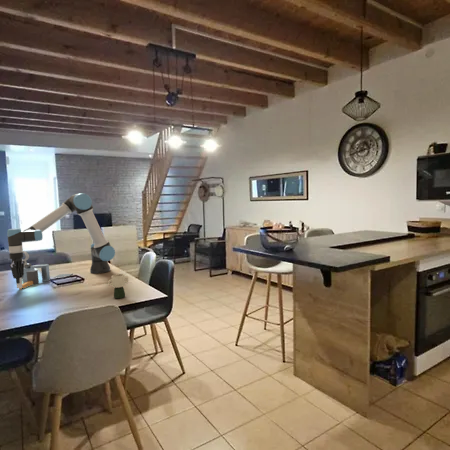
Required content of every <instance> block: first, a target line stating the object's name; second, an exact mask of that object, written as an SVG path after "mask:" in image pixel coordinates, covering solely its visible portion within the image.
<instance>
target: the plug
mask: <svg viewBox="0 0 450 450" xmlns="http://www.w3.org/2000/svg"><path fill="white" fill-rule="evenodd" d="M39 280H40V279H39V270H38V269H36V270H31V271H28V272H27V282H22V288H25V287H27V286H29V287H31V286H32V284H33V285H37V284H39V283H38V282H39ZM36 283H37V284H36ZM30 285H31V286H30ZM22 288H18V289H19V290H23V289H22ZM27 288H28V287H27ZM25 289H26V288H25Z"/></svg>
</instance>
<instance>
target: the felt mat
mask: <svg viewBox="0 0 450 450" xmlns="http://www.w3.org/2000/svg"><path fill="white" fill-rule="evenodd" d="M72 275H73V273H62V274H57V275H56V276H54V277H53V278H56V277H57V278H58V277H64V276H69V277H70V276H72Z"/></svg>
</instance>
